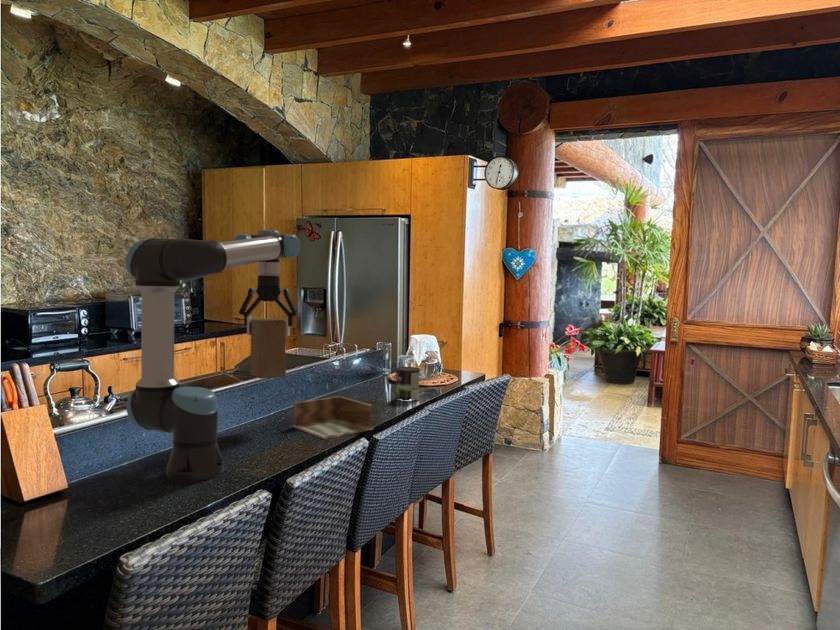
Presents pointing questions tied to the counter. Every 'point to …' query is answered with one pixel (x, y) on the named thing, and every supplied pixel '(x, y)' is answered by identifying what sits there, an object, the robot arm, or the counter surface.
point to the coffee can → (407, 383)
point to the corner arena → (333, 416)
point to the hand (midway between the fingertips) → (268, 335)
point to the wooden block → (268, 348)
